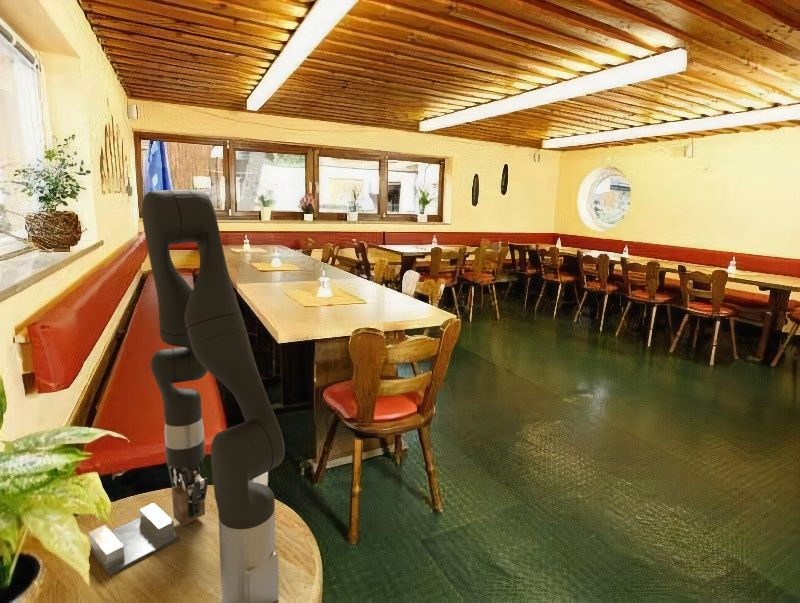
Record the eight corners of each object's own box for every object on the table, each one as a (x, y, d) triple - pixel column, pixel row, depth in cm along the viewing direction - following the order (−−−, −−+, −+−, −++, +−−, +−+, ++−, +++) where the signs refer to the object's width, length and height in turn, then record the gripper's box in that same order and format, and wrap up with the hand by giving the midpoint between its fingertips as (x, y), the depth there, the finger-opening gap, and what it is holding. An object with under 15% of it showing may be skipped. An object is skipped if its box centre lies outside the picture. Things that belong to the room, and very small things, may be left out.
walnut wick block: (205, 514, 102) (203, 485, 101) (182, 525, 99) (180, 496, 97) (196, 506, 105) (194, 478, 103) (173, 517, 101) (171, 488, 100)
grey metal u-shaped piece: (178, 539, 97) (178, 524, 96) (109, 576, 87) (108, 559, 86) (152, 513, 104) (151, 499, 103) (86, 544, 94) (84, 529, 93)
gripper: (219, 444, 97) (222, 517, 100) (185, 422, 105) (190, 490, 109) (183, 458, 91) (188, 535, 94) (151, 433, 100) (156, 505, 103)
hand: (189, 510), depth 102 cm, fingers closed on walnut wick block, 4 cm apart
